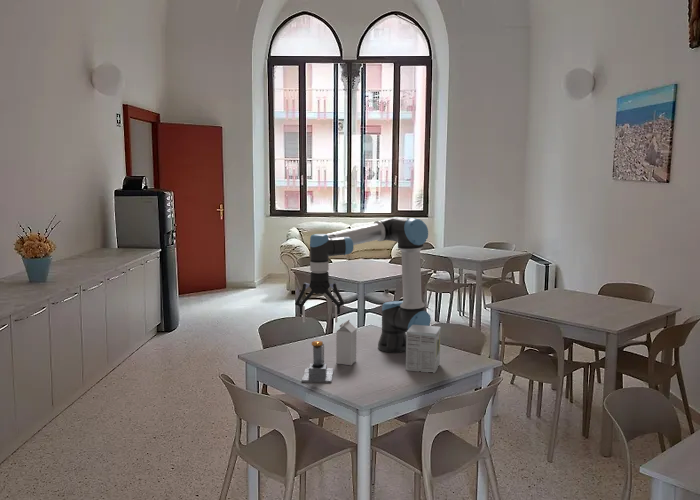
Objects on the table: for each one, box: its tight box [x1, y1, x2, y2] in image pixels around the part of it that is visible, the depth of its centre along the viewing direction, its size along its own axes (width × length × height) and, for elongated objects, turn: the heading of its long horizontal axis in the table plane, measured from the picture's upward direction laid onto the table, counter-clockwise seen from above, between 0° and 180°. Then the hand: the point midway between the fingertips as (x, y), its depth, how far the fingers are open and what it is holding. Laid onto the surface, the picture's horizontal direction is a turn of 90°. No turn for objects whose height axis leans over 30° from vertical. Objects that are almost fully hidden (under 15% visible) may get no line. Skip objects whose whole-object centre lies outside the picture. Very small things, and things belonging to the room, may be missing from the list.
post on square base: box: [301, 343, 334, 384], centre depth 262 cm, size 12×16×12 cm
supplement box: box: [405, 325, 442, 374], centre depth 274 cm, size 13×13×18 cm
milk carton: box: [335, 319, 357, 366], centre depth 280 cm, size 7×7×19 cm
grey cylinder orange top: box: [311, 340, 324, 368], centre depth 260 cm, size 5×5×14 cm
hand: (320, 321), depth 261 cm, fingers open, 13 cm apart
